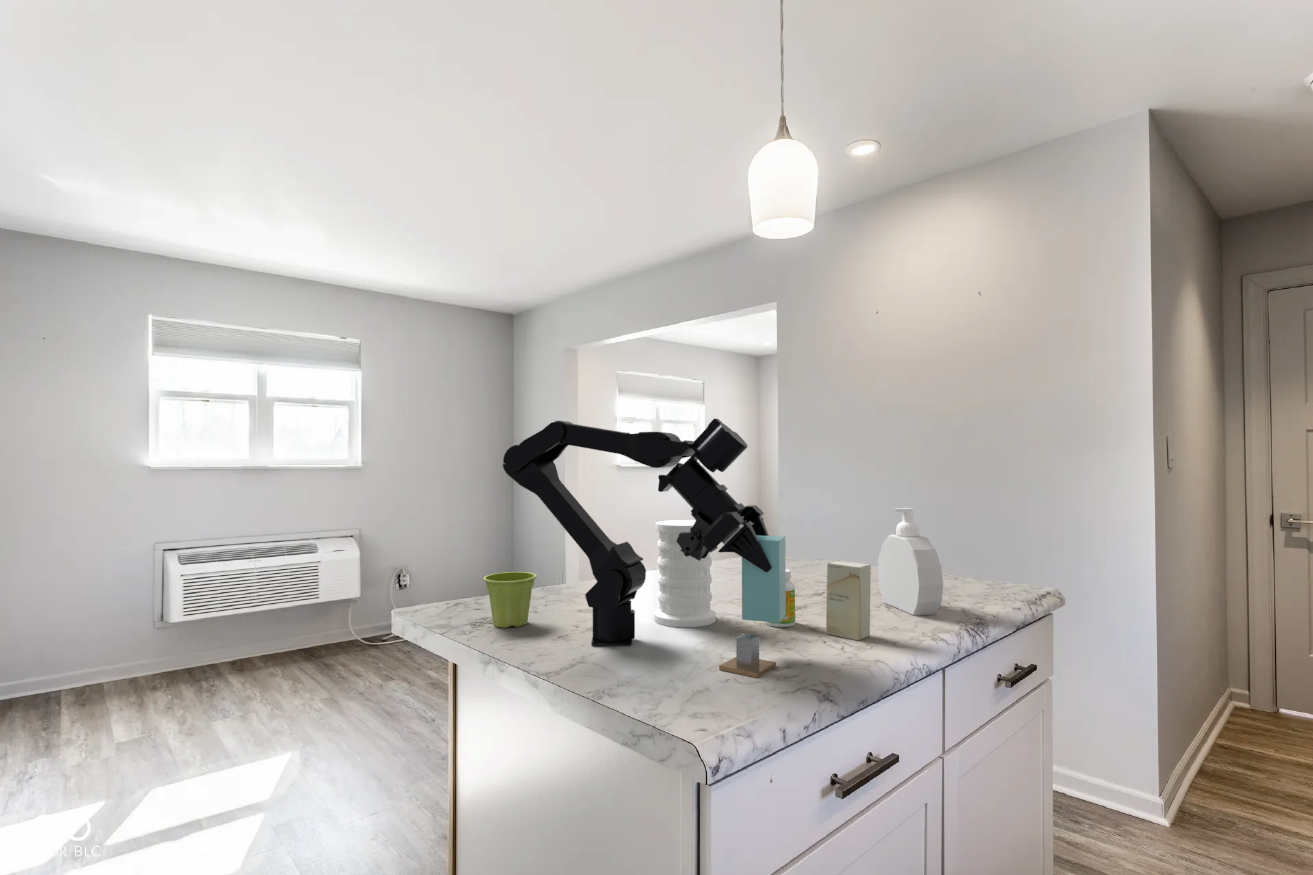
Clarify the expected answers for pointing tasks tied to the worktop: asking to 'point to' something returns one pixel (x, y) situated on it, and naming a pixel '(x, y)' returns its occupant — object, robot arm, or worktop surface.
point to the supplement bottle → (787, 604)
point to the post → (747, 658)
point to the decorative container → (682, 581)
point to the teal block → (765, 584)
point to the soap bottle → (910, 569)
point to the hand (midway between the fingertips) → (773, 567)
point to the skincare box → (848, 599)
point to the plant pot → (510, 597)
